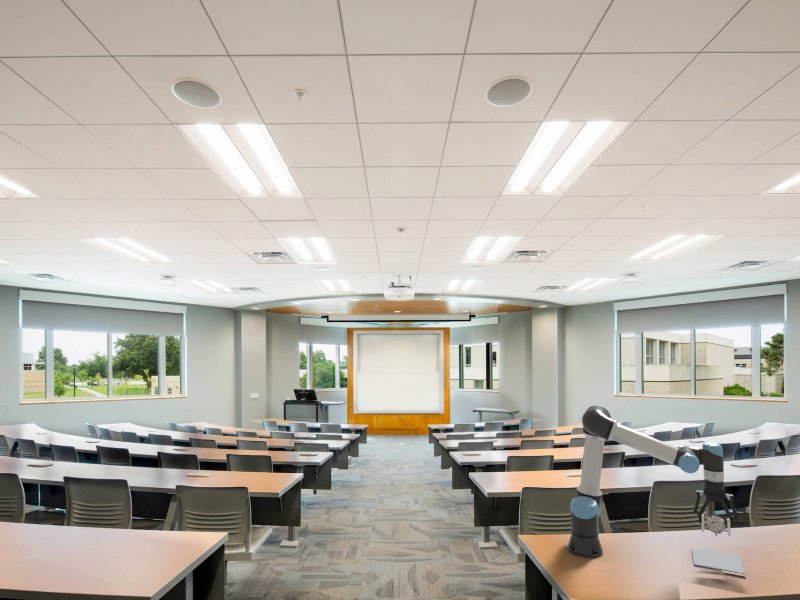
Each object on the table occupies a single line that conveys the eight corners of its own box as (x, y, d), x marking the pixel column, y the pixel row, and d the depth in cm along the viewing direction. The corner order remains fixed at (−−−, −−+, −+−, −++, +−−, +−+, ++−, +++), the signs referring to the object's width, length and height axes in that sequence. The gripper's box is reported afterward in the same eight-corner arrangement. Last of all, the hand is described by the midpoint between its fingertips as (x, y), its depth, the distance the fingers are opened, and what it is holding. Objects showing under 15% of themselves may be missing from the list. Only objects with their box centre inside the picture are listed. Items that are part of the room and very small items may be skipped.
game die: (731, 541, 210) (730, 517, 211) (709, 539, 212) (708, 515, 212) (722, 532, 219) (721, 509, 219) (701, 531, 220) (700, 508, 221)
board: (694, 567, 211) (694, 564, 211) (691, 550, 227) (691, 547, 227) (745, 577, 203) (745, 573, 203) (739, 558, 219) (739, 555, 219)
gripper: (685, 478, 218) (687, 531, 217) (745, 485, 208) (747, 541, 207) (684, 474, 225) (686, 525, 224) (742, 480, 215) (744, 534, 214)
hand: (716, 532), depth 215 cm, fingers closed on game die, 9 cm apart
